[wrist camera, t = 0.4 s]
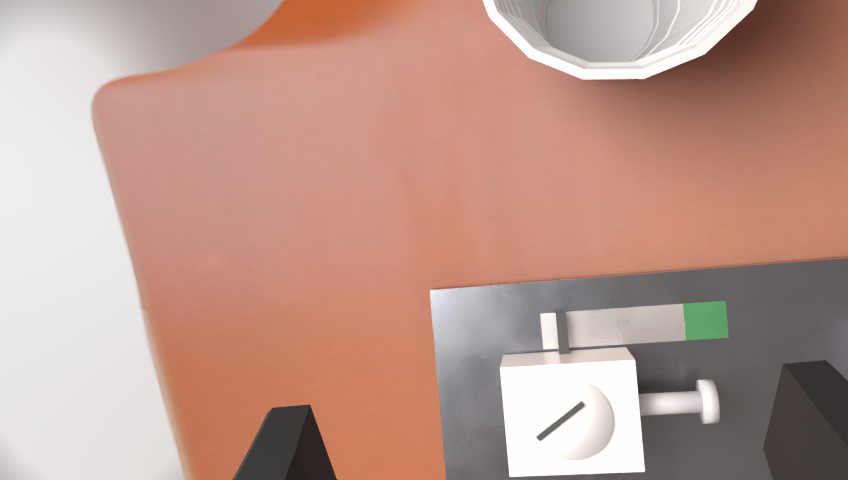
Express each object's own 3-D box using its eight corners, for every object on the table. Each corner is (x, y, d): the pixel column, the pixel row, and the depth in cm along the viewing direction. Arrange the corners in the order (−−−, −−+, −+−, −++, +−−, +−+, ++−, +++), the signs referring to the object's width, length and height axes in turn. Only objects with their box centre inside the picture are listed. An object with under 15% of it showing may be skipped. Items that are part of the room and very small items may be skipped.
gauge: (711, 445, 35) (732, 471, 32) (512, 453, 37) (509, 479, 33) (698, 301, 35) (717, 309, 32) (500, 315, 37) (495, 325, 33)
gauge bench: (926, 500, 35) (990, 545, 30) (452, 514, 39) (440, 556, 34) (904, 252, 35) (964, 255, 30) (432, 289, 39) (417, 297, 34)
